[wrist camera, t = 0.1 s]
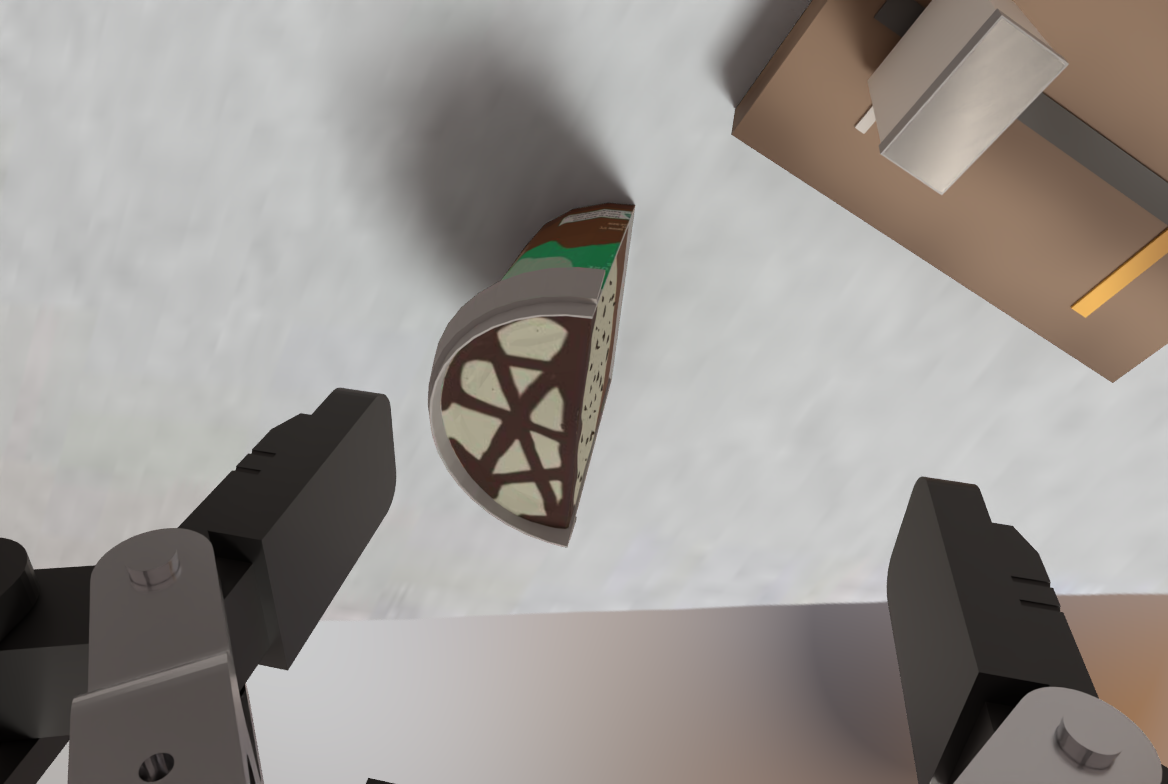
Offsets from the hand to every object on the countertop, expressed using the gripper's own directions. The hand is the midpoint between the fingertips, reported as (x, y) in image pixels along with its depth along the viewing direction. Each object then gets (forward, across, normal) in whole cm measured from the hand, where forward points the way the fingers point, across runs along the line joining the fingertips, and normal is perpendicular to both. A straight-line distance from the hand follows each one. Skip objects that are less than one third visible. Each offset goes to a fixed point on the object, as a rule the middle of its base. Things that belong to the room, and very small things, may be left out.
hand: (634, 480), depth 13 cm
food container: (+24, +6, +8) cm, 26 cm away
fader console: (+22, -11, -2) cm, 25 cm away
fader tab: (+19, -7, -4) cm, 20 cm away
